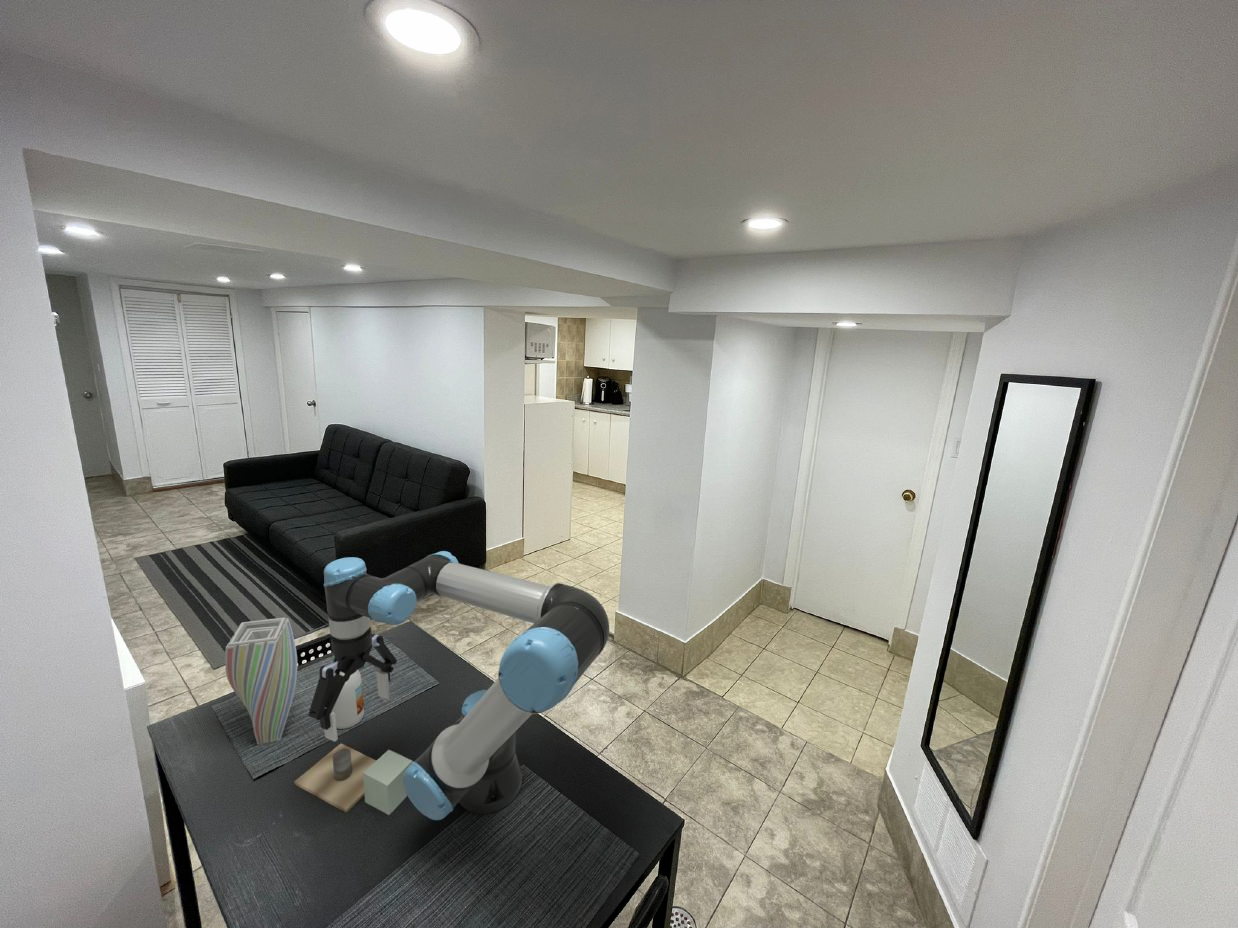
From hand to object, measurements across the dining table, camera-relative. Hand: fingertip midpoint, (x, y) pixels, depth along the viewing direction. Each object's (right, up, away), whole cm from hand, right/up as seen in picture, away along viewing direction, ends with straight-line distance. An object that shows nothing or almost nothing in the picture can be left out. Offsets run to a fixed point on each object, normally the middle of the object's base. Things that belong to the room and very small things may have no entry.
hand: (359, 716), depth 109 cm
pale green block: (+6, -19, +3) cm, 20 cm away
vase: (-31, -13, +16) cm, 37 cm away
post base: (-7, -17, +6) cm, 20 cm away
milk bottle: (-15, -12, +23) cm, 30 cm away
